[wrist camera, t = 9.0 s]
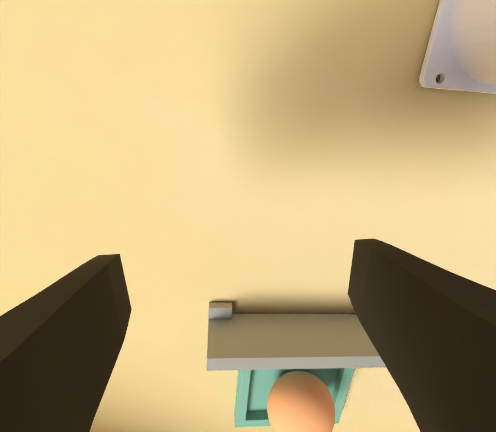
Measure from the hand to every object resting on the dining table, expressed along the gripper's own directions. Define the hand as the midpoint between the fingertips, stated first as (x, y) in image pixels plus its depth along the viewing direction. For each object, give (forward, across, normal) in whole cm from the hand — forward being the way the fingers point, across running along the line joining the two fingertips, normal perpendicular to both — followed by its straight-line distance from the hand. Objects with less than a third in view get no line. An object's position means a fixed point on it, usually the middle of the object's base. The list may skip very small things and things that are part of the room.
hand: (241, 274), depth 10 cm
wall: (+10, -5, +11) cm, 16 cm away
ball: (+10, -4, +17) cm, 20 cm away
